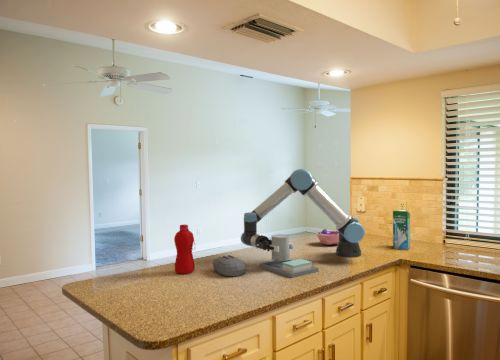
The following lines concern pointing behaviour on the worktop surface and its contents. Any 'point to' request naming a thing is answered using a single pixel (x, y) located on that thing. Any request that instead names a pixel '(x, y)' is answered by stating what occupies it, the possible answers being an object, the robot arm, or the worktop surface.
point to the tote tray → (278, 268)
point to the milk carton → (401, 229)
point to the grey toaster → (229, 266)
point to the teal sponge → (296, 265)
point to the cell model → (328, 237)
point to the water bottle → (184, 251)
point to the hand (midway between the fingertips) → (286, 248)
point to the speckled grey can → (281, 247)
